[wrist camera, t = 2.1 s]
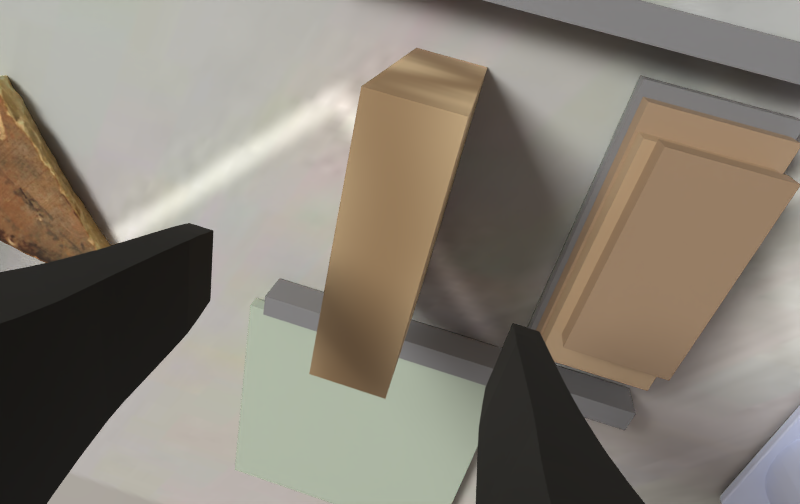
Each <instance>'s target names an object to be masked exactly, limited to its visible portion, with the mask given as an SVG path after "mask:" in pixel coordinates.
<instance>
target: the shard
mask: <svg viewBox="0 0 800 504" xmlns="http://www.w3.org/2000/svg"><path fill="white" fill-rule="evenodd" d="M0 241H2V242H4V243H6V244H8V245H11V246H13V247H14V248H16V249H18V250H20V251H21V252H23V253H25V254H27V255H30V256H32V257H35V258H37V259H39V260H40V261H43V262H45V263H48V262H53V261H56V260H60V259H64V258H68V257H72V256H75V255H79V254H83V253H87V252H90V251H94V250H98V249H102V248H105V247H108V246H111V245H110V244H109V243H108V241H107V240H106V238H105V237H104V235H103V234H102V233H101V231H100V230H99V229H98V227H97V225H96V224H95V222H94V221H93V219H92V217H91V216H90V214H89V212H88V211H87V210H86V209H85V207H84V205H83V203H82V201H81V200H80V199H79V198H78V196H77V195H76V194H75V193H74V192H73V190H72V188H71V186H70V184H69V182H68V180H67V179H66V177H65V176H64V174H63V173H62V170H61V169H60V167H59V166H58V163H57V161H56V159H55V157H54V156H53V155H52V153H51V152H50V150H49V148H48V147H47V145H46V143H45V141H44V139H43V138H42V136H41V134H40V132H39V130H38V128H37V126H36V124H35V122H34V120H33V119H32V117H31V115H30V113H29V111H28V110H27V108H26V106H25V104H24V101H23V99H22V97H21V96H20V95H19V94H18V93H17V92H16V91H15V90H14V88H13V87H12V85H11V83H10V81H9V78H8V76H6V75H5V76H0Z"/></svg>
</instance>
